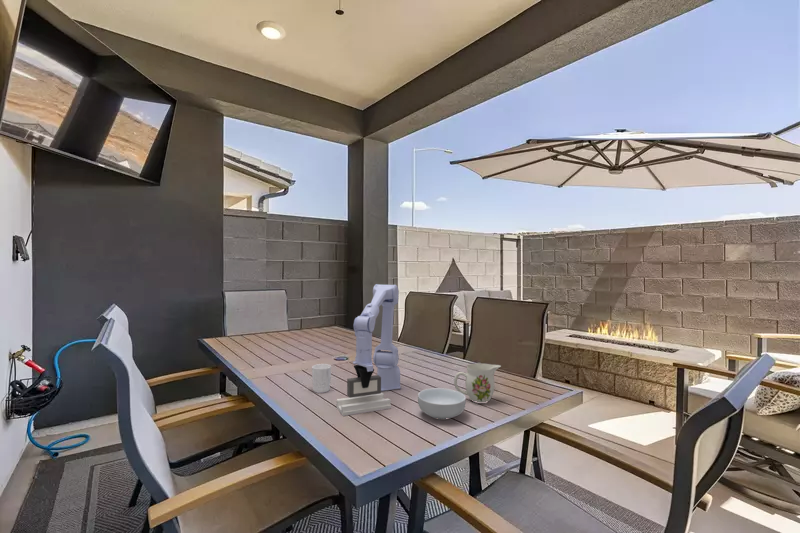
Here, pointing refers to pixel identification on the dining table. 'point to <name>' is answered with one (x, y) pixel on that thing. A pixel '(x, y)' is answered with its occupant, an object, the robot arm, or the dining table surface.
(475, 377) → the pitcher
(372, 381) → the grey rectangular block
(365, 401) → the ledge
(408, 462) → the dining table surface
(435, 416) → the cereal bowl
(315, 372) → the white cup
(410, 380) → the dining table surface
